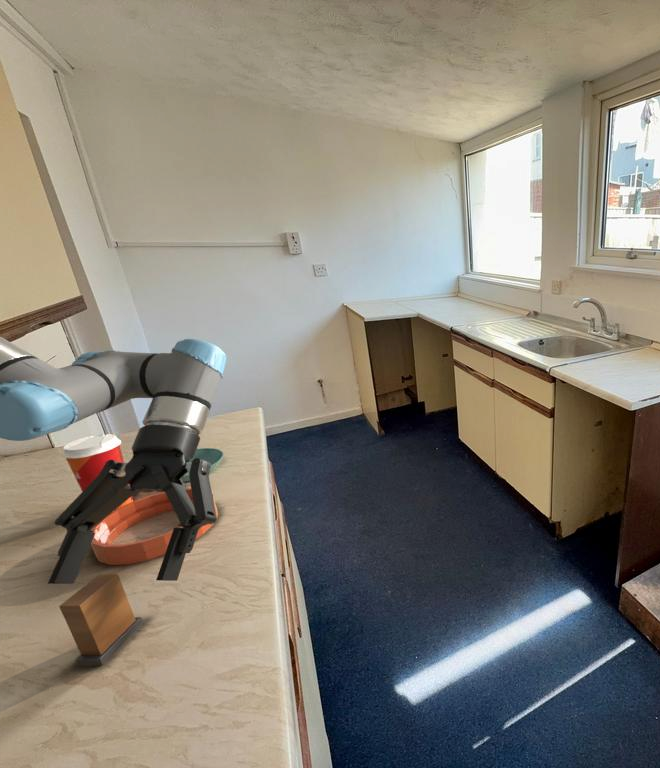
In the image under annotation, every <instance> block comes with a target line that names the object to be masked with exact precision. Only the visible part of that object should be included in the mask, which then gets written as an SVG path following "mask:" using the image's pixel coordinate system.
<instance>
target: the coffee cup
mask: <svg viewBox="0 0 660 768" xmlns="http://www.w3.org/2000/svg"><path fill="white" fill-rule="evenodd" d="M121 444H122V441H121V439H119V438H118V437H117V436H116V435H115V434H112V433H107V434H96V435H94V436H93V435H90V436H86V437H82V438H81V437H80V438H78V439H76V440H73V441H70V442H69V443H66V444H64V446H63V448H62V451H63V452H62V453H61V457H62V458H64V459H65V460H66V461H67V463H68V466H69V468H70V470H71V472H72V474H73V476H74V478H75V480H76V482H77V484H78V486H79V488H80V490H81V493H82V492H83V491H84V490H85V489H86V488H87V487H88V486H89V485H90V484H91V483H92V481H93V480H94V479H95V478H96V477H97V476H98V475H99V474H100V472H101V470H102V469H103V467H104V465H105V463H106V462H107V461H108V460H114V461H118V462H121V463H125V461H124V456H123V453H122V449H121ZM128 486H130V484H128ZM133 497H134V496H132V497H130V498H129V499H128V500H126V501H125V502H124V503H123V504H121V505H120V506H119V507H118V508H117V509H119V508H121V507H123V506H125V505H127V504H129V503H131V502H134V498H133ZM117 509H115V510H117ZM115 510H114V511H115Z"/></svg>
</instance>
